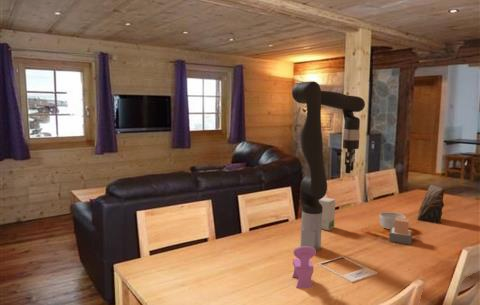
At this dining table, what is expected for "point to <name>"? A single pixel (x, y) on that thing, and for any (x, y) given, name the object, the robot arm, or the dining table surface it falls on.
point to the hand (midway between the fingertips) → (349, 171)
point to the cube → (401, 225)
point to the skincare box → (328, 213)
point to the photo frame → (353, 275)
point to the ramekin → (389, 219)
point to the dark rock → (432, 205)
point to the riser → (400, 237)
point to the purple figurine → (303, 266)
